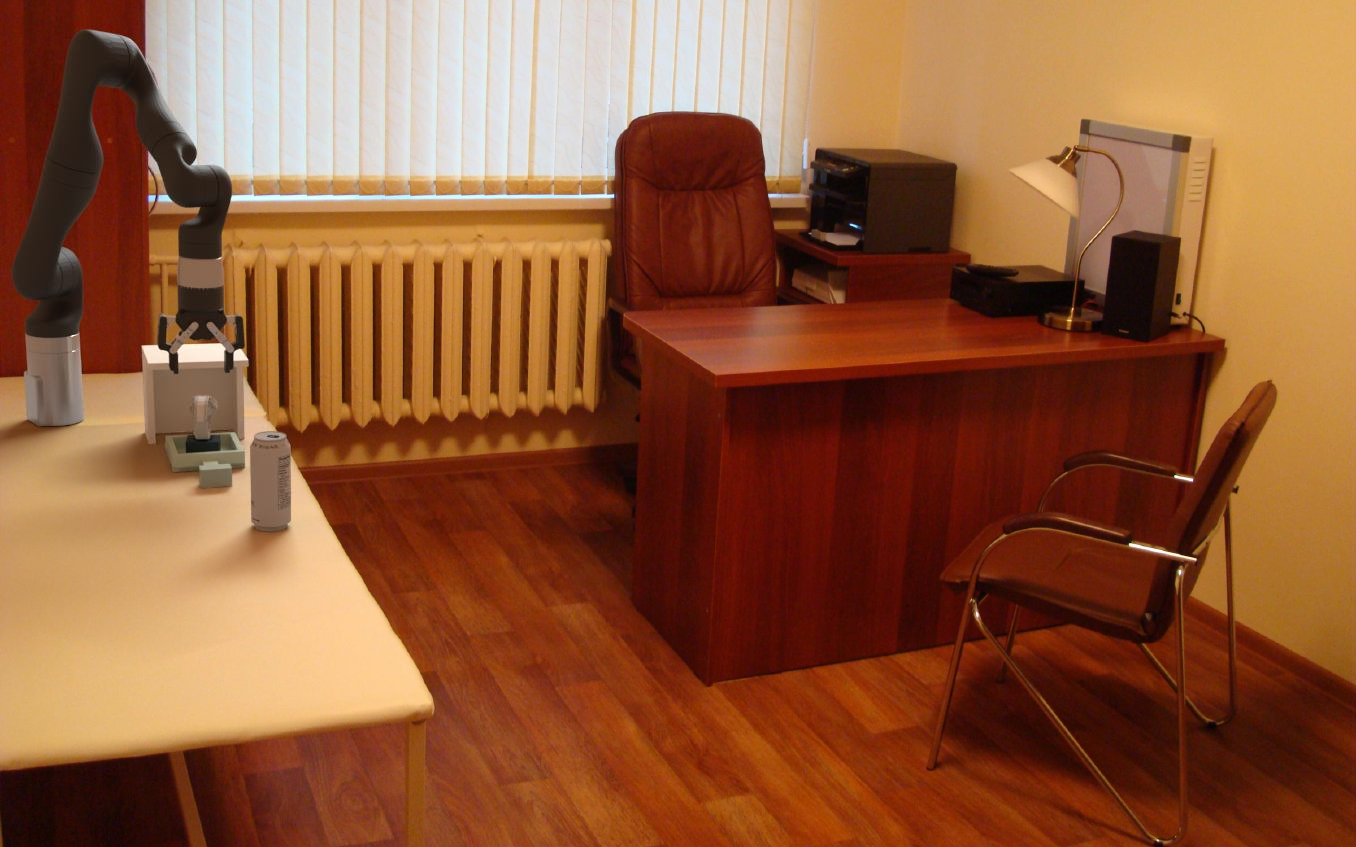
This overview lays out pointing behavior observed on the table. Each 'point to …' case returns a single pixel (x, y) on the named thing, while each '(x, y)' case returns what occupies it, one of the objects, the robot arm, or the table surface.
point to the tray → (207, 459)
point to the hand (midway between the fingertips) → (201, 372)
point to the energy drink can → (270, 481)
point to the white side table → (191, 388)
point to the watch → (203, 425)
